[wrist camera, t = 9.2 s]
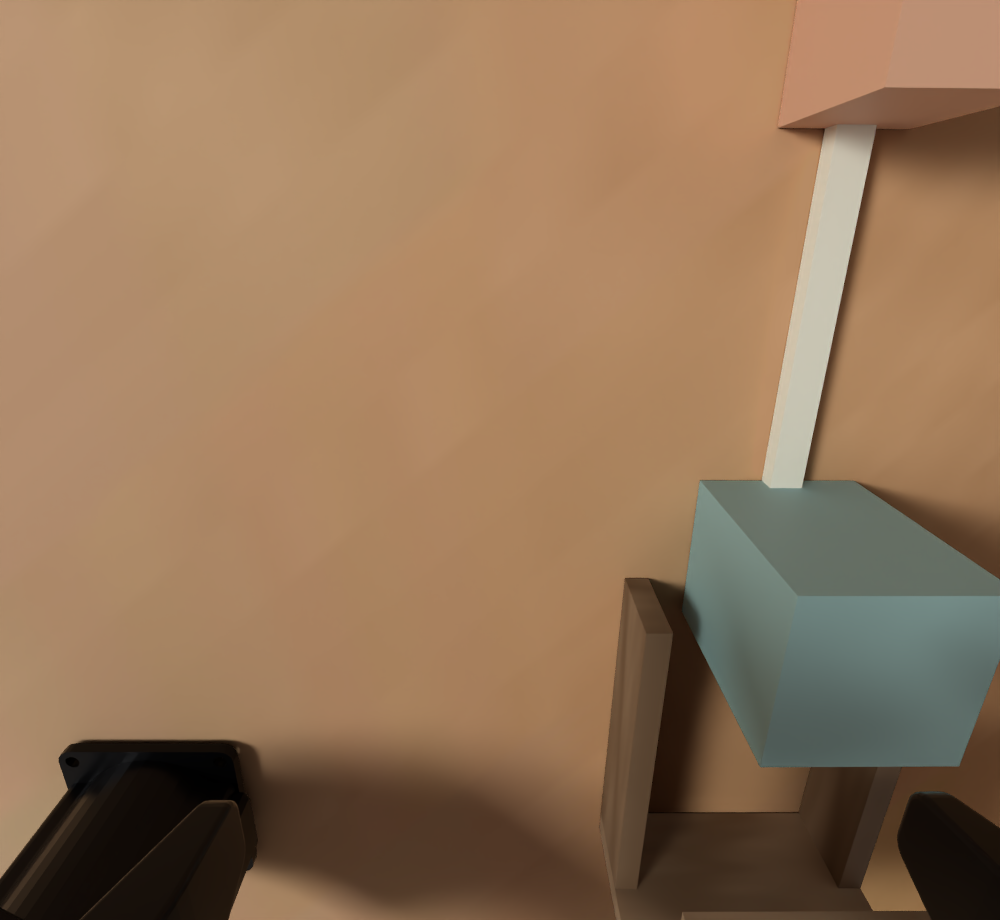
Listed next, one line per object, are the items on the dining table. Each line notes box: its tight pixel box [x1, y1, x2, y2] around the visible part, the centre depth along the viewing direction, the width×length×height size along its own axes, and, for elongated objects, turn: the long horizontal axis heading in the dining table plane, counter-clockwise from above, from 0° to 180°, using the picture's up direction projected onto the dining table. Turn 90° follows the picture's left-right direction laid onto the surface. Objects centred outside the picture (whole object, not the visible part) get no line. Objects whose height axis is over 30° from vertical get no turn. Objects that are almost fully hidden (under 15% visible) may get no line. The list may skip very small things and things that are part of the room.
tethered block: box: [682, 0, 1000, 767], centre depth 14 cm, size 5×18×6 cm, turn 0°
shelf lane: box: [599, 578, 931, 920], centre depth 18 cm, size 9×12×9 cm
